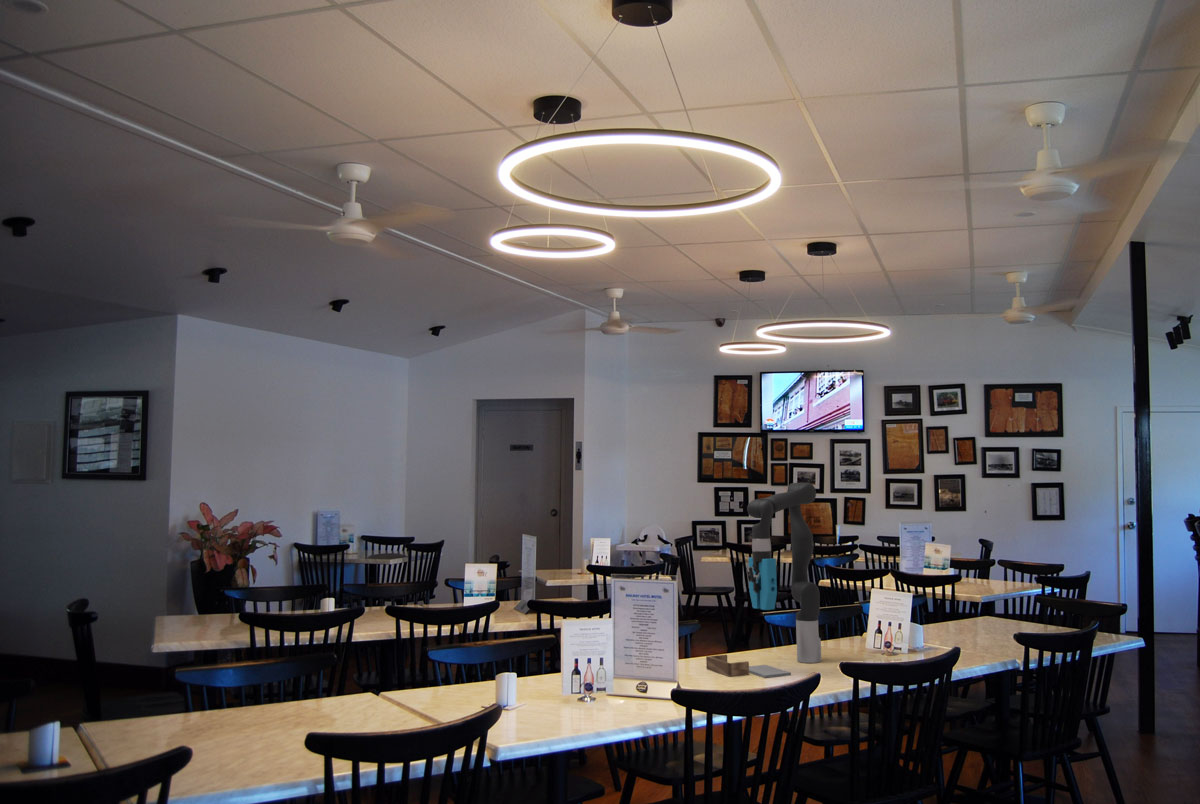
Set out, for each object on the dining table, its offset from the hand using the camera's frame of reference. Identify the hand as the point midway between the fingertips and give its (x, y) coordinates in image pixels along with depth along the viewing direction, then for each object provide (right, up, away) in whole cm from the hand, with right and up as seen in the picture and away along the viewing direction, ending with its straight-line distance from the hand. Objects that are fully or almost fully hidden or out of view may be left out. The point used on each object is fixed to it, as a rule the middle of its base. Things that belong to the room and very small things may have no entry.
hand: (762, 592), depth 365 cm
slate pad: (0, -31, -3) cm, 32 cm away
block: (0, -7, -1) cm, 7 cm away
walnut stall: (-14, -32, 0) cm, 35 cm away
